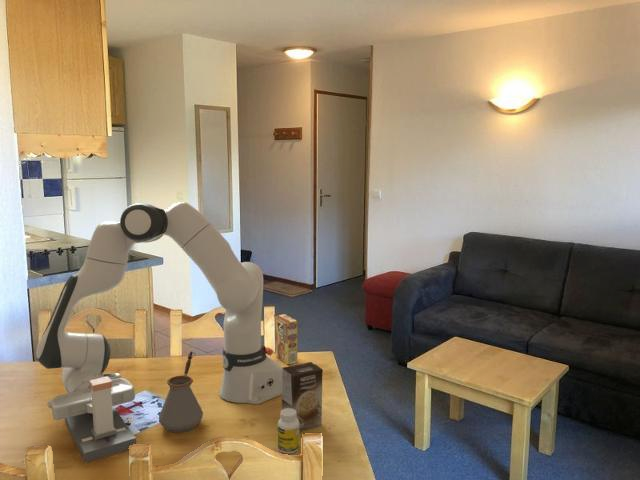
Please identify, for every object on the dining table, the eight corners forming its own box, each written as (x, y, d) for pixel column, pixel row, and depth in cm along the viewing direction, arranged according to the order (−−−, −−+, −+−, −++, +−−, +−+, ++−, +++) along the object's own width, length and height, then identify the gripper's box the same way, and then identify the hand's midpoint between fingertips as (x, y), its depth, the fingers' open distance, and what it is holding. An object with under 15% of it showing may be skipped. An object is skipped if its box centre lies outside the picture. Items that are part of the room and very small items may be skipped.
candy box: (298, 363, 189) (298, 320, 186) (287, 365, 186) (287, 322, 184) (285, 354, 196) (285, 313, 193) (274, 357, 194) (274, 315, 191)
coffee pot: (198, 436, 141) (196, 382, 138) (153, 436, 141) (151, 382, 138) (213, 398, 162) (211, 350, 159) (174, 398, 162) (172, 350, 159)
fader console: (111, 410, 154) (110, 401, 154) (136, 447, 136) (135, 437, 135) (65, 422, 148) (64, 413, 147) (85, 463, 129) (84, 452, 129)
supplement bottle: (273, 451, 135) (273, 414, 133) (283, 440, 140) (283, 404, 138) (294, 456, 133) (294, 418, 131) (302, 445, 138) (302, 408, 136)
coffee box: (292, 434, 143) (292, 376, 140) (281, 423, 148) (280, 367, 145) (322, 425, 147) (323, 369, 144) (310, 415, 153) (310, 360, 150)
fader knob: (112, 427, 140) (108, 375, 138) (116, 433, 137) (113, 381, 134) (91, 432, 137) (87, 380, 135) (95, 439, 134) (91, 386, 131)
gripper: (44, 390, 142) (55, 411, 131) (125, 371, 154) (140, 389, 142) (46, 412, 143) (57, 435, 132) (126, 392, 155) (142, 412, 144)
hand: (101, 411), depth 137 cm, fingers closed, pressing on fader knob
